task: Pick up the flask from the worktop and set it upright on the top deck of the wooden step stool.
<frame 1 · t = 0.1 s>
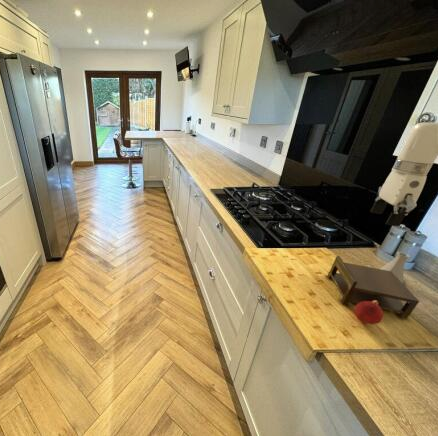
hand: (383, 218, 77), 22 cm above the worktop, tool pointing down, fingers open, 9 cm apart
onion: (362, 322, 67), on the worktop
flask: (389, 277, 86), on the worktop
wooden step stool: (362, 295, 77), on the worktop
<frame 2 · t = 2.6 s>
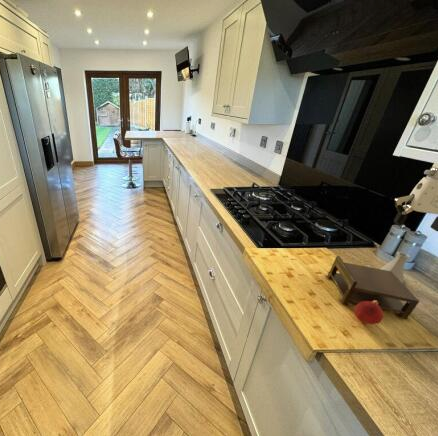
hand: (415, 226, 77), 21 cm above the worktop, tool pointing down, fingers open, 9 cm apart
nothing on the worktop moved.
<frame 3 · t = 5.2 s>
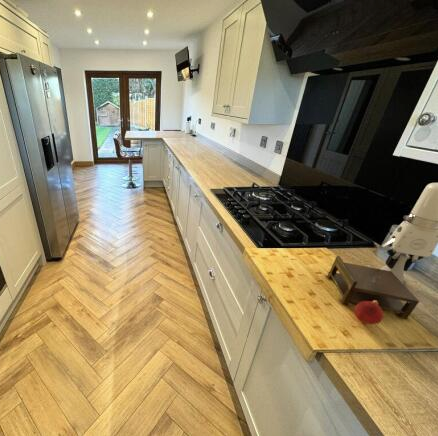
hand: (395, 267, 83), 5 cm above the worktop, tool pointing down, fingers closed on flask, 3 cm apart
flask: (389, 277, 86), on the worktop, touching gripper
everything else where it was.
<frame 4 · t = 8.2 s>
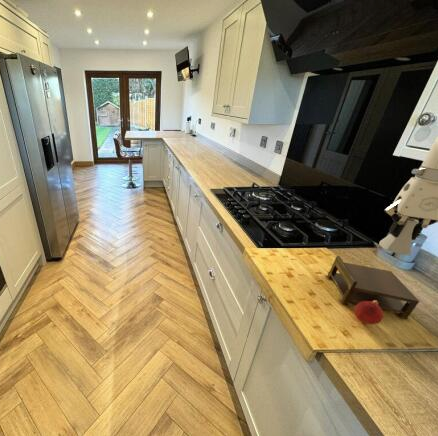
hand: (401, 235, 69), 21 cm above the worktop, tool pointing down, fingers closed on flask, 3 cm apart
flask: (393, 249, 71), point 17 cm above the worktop, touching gripper
everything else where it was.
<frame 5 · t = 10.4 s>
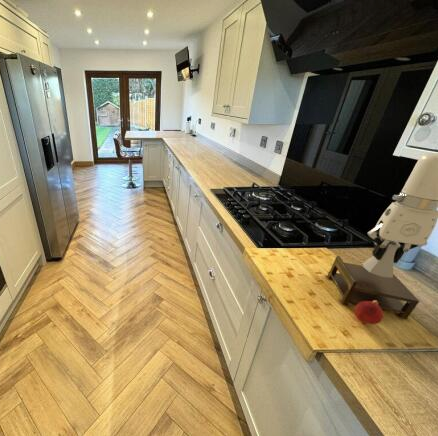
hand: (384, 258, 70), 15 cm above the worktop, tool pointing down, fingers closed on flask, 3 cm apart
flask: (376, 271, 72), point 10 cm above the worktop, touching gripper
everything else where it was.
when the fingers open (12 cm above the worktop, at t = 11.7 s): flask stays where it is, resting on wooden step stool.
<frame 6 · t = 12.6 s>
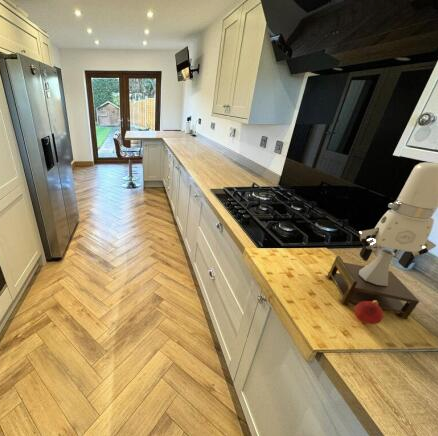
hand: (382, 261, 71), 13 cm above the worktop, tool pointing down, fingers open, 9 cm apart
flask: (372, 279, 74), point 7 cm above the worktop, touching wooden step stool
everything else where it was.
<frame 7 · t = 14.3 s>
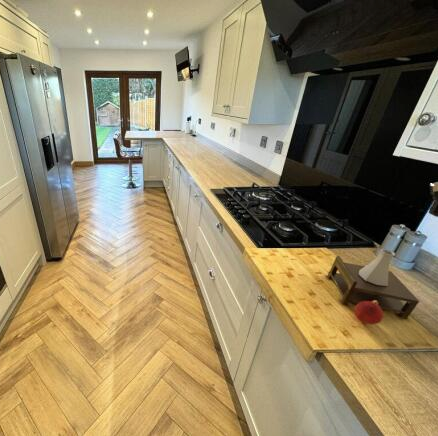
nothing on the worktop moved.
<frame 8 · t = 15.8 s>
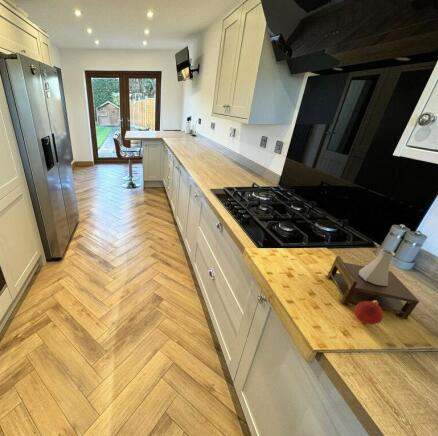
nothing on the worktop moved.
at the end: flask inside the target area on the wooden step stool (0.1 cm from its centre), point 6.8 cm above the wooden step stool's base; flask tilted 0°; the gripper is holding nothing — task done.
